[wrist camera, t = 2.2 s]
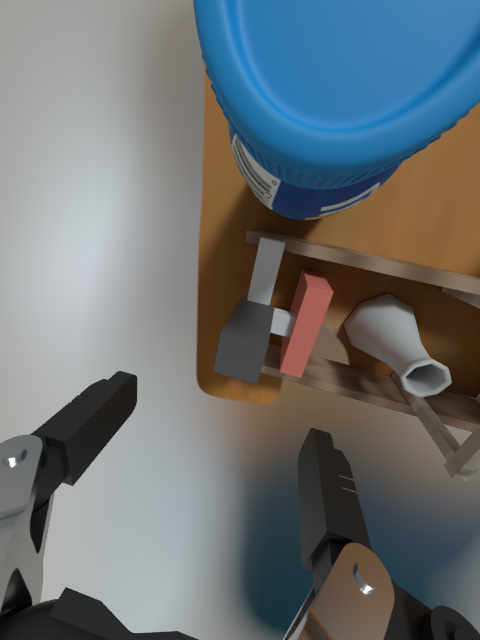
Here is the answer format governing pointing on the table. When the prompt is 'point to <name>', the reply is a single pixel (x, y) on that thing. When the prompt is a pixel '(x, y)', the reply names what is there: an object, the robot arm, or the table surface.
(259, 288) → the kicker
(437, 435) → the brown wooden open box
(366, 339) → the flask
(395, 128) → the blue-lidded jar
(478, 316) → the table surface
